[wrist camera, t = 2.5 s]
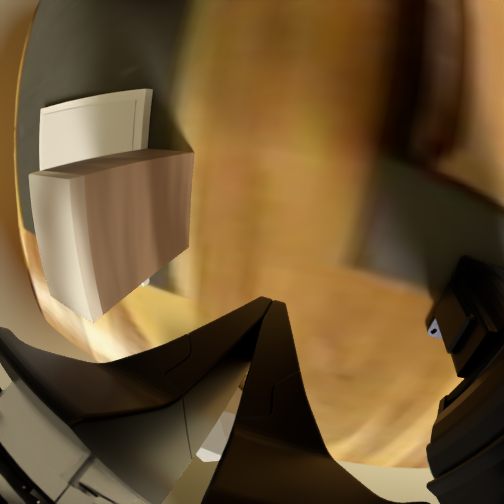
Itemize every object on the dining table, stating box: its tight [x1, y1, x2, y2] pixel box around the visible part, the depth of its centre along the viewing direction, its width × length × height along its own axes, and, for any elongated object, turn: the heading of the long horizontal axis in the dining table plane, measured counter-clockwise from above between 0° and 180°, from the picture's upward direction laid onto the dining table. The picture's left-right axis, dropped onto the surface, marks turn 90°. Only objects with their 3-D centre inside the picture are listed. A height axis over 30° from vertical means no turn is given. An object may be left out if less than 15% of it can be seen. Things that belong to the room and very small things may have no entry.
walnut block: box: [29, 148, 194, 323], centre depth 15 cm, size 4×7×10 cm, turn 172°
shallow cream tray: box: [39, 89, 153, 286], centre depth 21 cm, size 16×16×1 cm
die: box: [196, 387, 242, 462], centre depth 23 cm, size 8×9×10 cm
